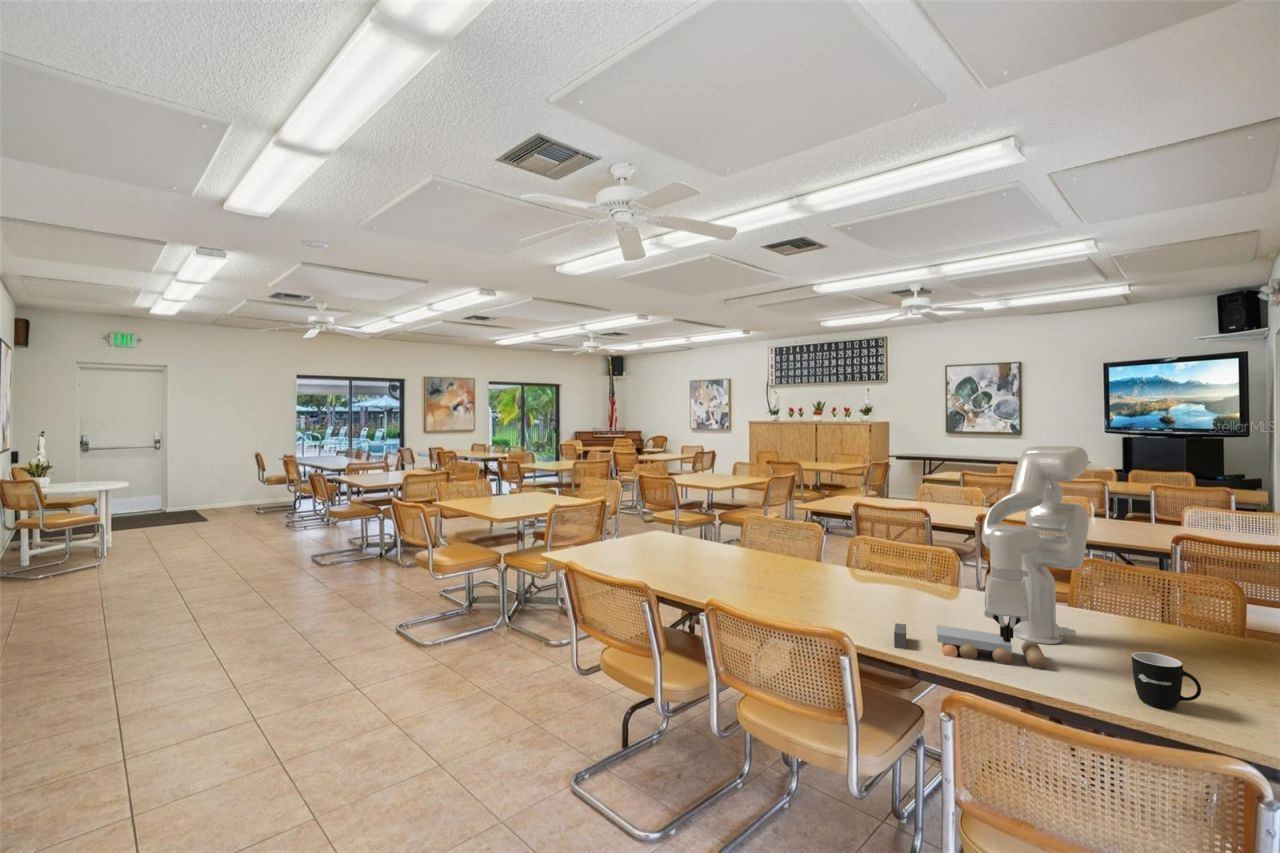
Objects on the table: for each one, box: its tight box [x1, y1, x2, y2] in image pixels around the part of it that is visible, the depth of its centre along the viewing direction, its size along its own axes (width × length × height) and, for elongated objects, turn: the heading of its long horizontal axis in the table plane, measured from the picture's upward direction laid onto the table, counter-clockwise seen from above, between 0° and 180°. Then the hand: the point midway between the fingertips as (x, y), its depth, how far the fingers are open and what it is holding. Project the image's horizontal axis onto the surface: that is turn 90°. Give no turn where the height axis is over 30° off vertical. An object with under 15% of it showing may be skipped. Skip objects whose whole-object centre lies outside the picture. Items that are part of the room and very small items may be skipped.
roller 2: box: [957, 644, 978, 661], centre depth 169 cm, size 10×4×4 cm, turn 154°
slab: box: [935, 624, 1013, 655], centre depth 168 cm, size 18×9×2 cm, turn 65°
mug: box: [1131, 651, 1202, 709], centre depth 137 cm, size 12×9×10 cm
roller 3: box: [1021, 640, 1048, 671], centre depth 162 cm, size 10×4×4 cm, turn 154°
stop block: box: [893, 622, 907, 650], centre depth 177 cm, size 3×9×5 cm, turn 154°
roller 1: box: [941, 643, 959, 658], centre depth 171 cm, size 10×4×4 cm
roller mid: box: [990, 648, 1012, 666], centre depth 166 cm, size 10×4×4 cm, turn 154°
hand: (1006, 640), depth 165 cm, fingers closed
